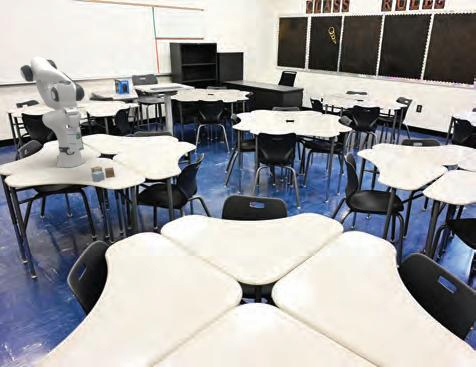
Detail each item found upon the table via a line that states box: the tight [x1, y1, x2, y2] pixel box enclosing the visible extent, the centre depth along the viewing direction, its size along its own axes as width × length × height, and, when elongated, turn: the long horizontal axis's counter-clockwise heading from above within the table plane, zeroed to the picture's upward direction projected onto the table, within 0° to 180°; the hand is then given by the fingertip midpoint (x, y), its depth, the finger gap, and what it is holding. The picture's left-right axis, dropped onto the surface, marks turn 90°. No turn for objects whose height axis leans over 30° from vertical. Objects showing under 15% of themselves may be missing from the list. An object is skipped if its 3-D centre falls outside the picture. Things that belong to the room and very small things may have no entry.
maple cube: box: [90, 165, 104, 173], centre depth 229 cm, size 5×5×5 cm
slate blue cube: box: [91, 171, 105, 183], centre depth 220 cm, size 5×5×5 cm
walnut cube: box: [104, 167, 116, 179], centre depth 226 cm, size 5×5×5 cm
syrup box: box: [66, 126, 85, 152], centre depth 213 cm, size 6×6×14 cm
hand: (73, 132), depth 212 cm, fingers closed on syrup box, 8 cm apart
